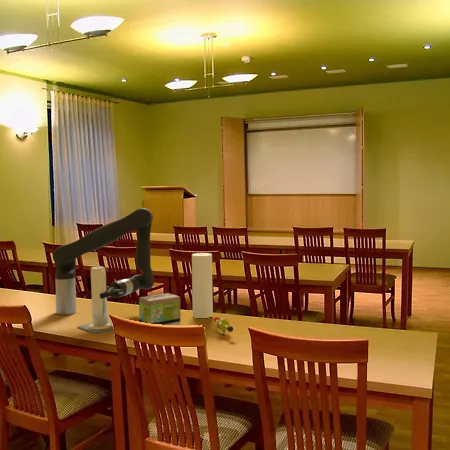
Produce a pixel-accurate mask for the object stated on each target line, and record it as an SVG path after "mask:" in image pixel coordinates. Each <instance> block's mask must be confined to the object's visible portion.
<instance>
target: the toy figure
mask: <svg viewBox="0 0 450 450" xmlns="http://www.w3.org/2000/svg"><path fill="white" fill-rule="evenodd" d="M213 321H214V322H215V323H216V329H218V330H220V331H221V333H222V332H223V334H225V335H226V330H227V332H229V333H232V332H234V327H233V326H231V325H230V324H231V323H230V321H229V320H228V318H226V317H219V316H215V317H214V320H213Z"/></svg>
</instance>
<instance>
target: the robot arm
mask: <svg viewBox="0 0 450 450" xmlns="http://www.w3.org/2000/svg"><path fill="white" fill-rule="evenodd" d="M153 218H154V215H153V213H152V211H151V210H149V209H148V208H145V207H141V208H140V207H139V208H137V209H136V210H134V211H132V212H131V213H129V214H128V215H126V216H124V217H122V218H120V219H117V220H115V221H111V222H109V223H107V224H104V225H102V226H101V227H98V228H96V229H94V230H92V231H90V232H88V233H87V234H85V235H84V236H82V237H81V238H79V239H77V240H76V241H73V242H71V243H68V244H63V245H60V246H57V247H56V249H54V251H53V254H52V259H53V261H54V263H55V264H56V269H55V275H54V278H55V279H54V280H55V312H56V314H57V315H62V316H63V315H67V316H68V315H72V314H75V313H77V293H76V271H77V270H76V269H77V268H76V267H77V265H76V263H77V262H76V261H77V259H78V258H79V257H81V256H83V255H85V254H89V253H91V252H94V251H96V250H99V249H102V248H104V247H106V246H108V245H110V244H112V243H114V242H116V241H117V240H119V239H120V238H122V237H123V236H125V235H126V234H127V233H131V232H132V231H135V230H136V231H137V238H136V239H137V242H136V249H135V250H136V251H135V267H136V269H137V270H138V271H139V270H140V271H141V272H142V274H141V273H140V274H134V275H133V276H131V277H128V278H123V279H119V280H118V279H117V280H116V281H112V282H110V283H109V285H108V286H107V285H106V289H107V292H105V293H101V294H100V298H101V299H103V298H106V297H107V298H114V299H118V298H122V297H124V296H125V297H126V296H127V295H129V294H132V293H135V292H138V290H151V289H153V286H154V284H155V277H154V274H153V269H152V267H151V266H152V265H151V229H152V224H153ZM89 298H92V291H90V292H89Z"/></svg>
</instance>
